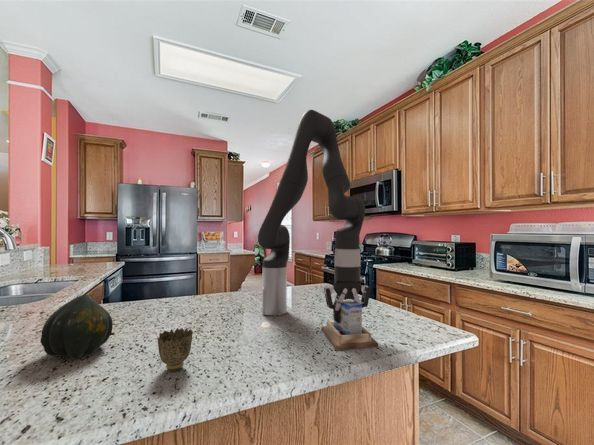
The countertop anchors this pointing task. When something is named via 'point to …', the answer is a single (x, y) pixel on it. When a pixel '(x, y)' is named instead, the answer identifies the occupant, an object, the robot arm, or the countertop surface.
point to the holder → (348, 338)
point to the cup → (174, 347)
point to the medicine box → (350, 318)
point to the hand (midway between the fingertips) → (347, 321)
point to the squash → (76, 328)
